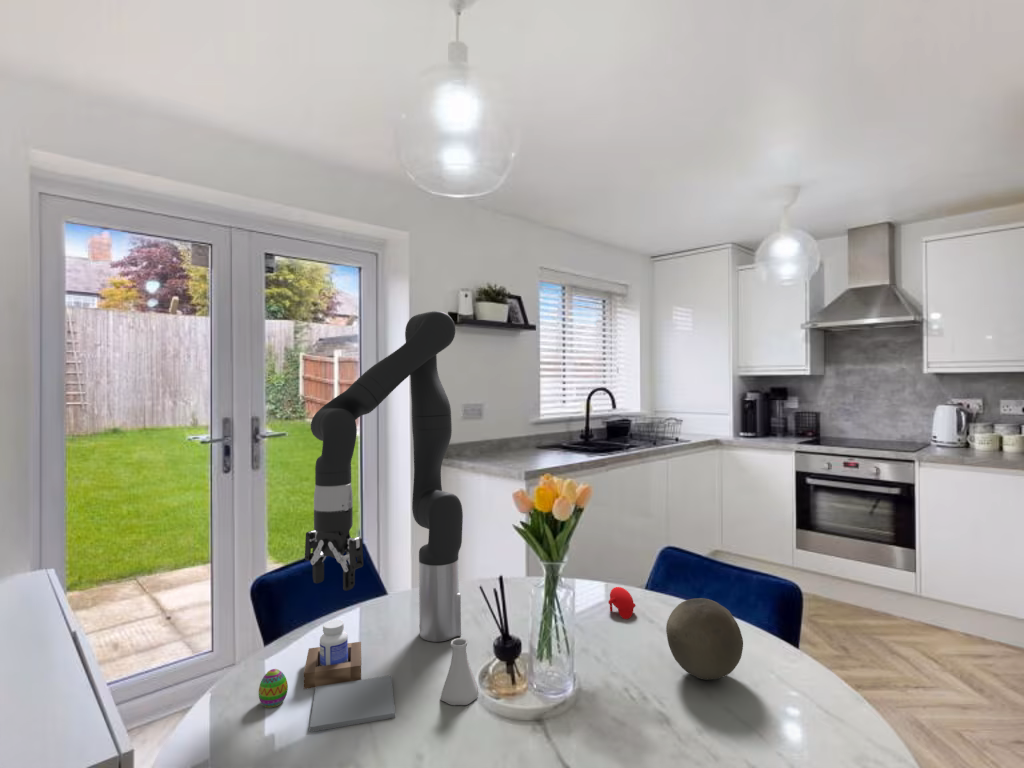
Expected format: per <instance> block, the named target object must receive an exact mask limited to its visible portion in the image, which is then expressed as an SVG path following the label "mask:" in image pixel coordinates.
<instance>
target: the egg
mask: <svg viewBox="0 0 1024 768" xmlns="http://www.w3.org/2000/svg"><path fill="white" fill-rule="evenodd" d="M260 681H261V682H260V683H259V687H258V699H259V702H260V704H261V705H262V706H263V707H265V708H267V709H270V708H275V707H278V706H280V705H281V704H282V703H283V702H284V701H285V699H286V696H287V695H288V689H289V685H288V680H287V677H286V675H285V674H284V672H282V670H279V669H277V668H272V669H270V670H268V671H267V672H266V673H265V674H264V676H263V677H262V679H261V680H260Z"/></svg>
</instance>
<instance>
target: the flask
mask: <svg viewBox="0 0 1024 768" xmlns="http://www.w3.org/2000/svg"><path fill="white" fill-rule="evenodd" d="M468 643H469V641H468V639H466V638H462V637H459V638H456V637H455V638H453V639H451V641H450V648H451V660H450V664H449V667H448V669H449V670H448V673H447V675H446V678H445V681H444V684H443V687H442V691H441V696H440V698H439V700H440V701H441V702H445V703H446V704H448V705H450V706H468V705H469V704H471V703H472V702H473V701H475V700H477V699H478V698H479V692H478V688H479V685H478V683H477V681H476V678H475V676H474V673H473V670H472V668H471V666H470V663H469V659H468V658H469V657H468V652H467V646H468Z"/></svg>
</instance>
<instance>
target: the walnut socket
mask: <svg viewBox="0 0 1024 768" xmlns="http://www.w3.org/2000/svg"><path fill="white" fill-rule="evenodd" d="M356 680H362V641H356V642H350V643H349V642H348V662H347V663H340V664H333V665H326V666H320V646H317V647H309V648H308V651H307V656H306V661H305V665H304V670H303V690H308V689H309V690H310V689H316V686H323V685H330V684H336V683H343V682H350V681H356Z"/></svg>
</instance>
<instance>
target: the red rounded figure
mask: <svg viewBox="0 0 1024 768" xmlns="http://www.w3.org/2000/svg"><path fill="white" fill-rule="evenodd" d="M608 605H609V611H610V613H611V612H613V606H614V607H615V608H616V609H618V614H619V616H620V617H621V618H622V619H624V620H628V619H630V618H631V617H632V615H634V614H633V613H634V609H635V607H636V603H634V599H633V597H632V594H630V592H629V591H628V590H627V589H626V588H624V587H621V586H615V587H613V588H612V589H611V590H610V593H609V600H608Z"/></svg>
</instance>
